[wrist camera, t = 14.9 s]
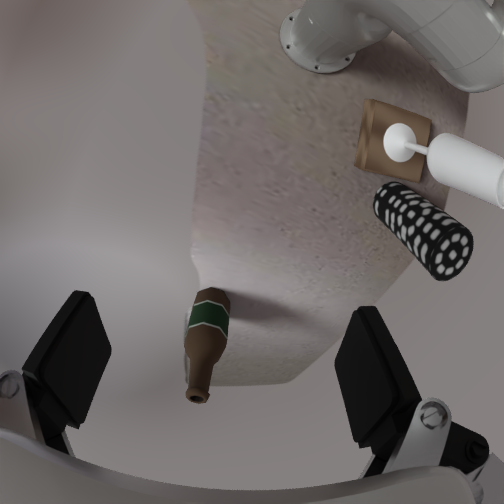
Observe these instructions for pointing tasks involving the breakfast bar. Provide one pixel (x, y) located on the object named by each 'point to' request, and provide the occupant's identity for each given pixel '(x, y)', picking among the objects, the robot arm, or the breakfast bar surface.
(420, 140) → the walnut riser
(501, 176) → the champagne flute
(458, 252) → the spotted tube
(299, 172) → the breakfast bar surface
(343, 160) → the breakfast bar surface
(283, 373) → the breakfast bar surface
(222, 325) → the beer bottle
